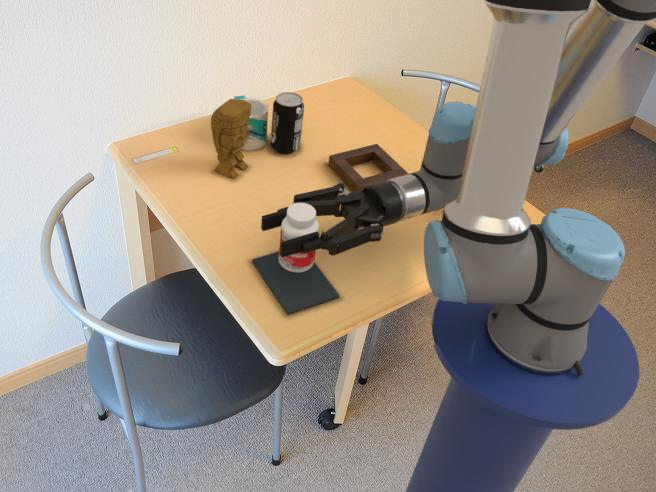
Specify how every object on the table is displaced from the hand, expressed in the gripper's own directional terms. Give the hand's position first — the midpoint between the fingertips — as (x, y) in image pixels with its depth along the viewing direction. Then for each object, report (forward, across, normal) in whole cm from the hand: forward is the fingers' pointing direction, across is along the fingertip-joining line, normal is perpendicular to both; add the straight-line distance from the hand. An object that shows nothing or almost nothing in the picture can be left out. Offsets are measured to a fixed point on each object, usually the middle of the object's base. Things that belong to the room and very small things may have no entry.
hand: (272, 236), depth 106 cm
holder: (-34, +22, -12) cm, 42 cm away
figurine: (-8, +35, -12) cm, 38 cm away
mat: (-5, 0, -12) cm, 13 cm away
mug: (-17, +45, -12) cm, 50 cm away
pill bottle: (-5, 0, -8) cm, 9 cm away
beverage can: (-22, +37, -12) cm, 45 cm away
